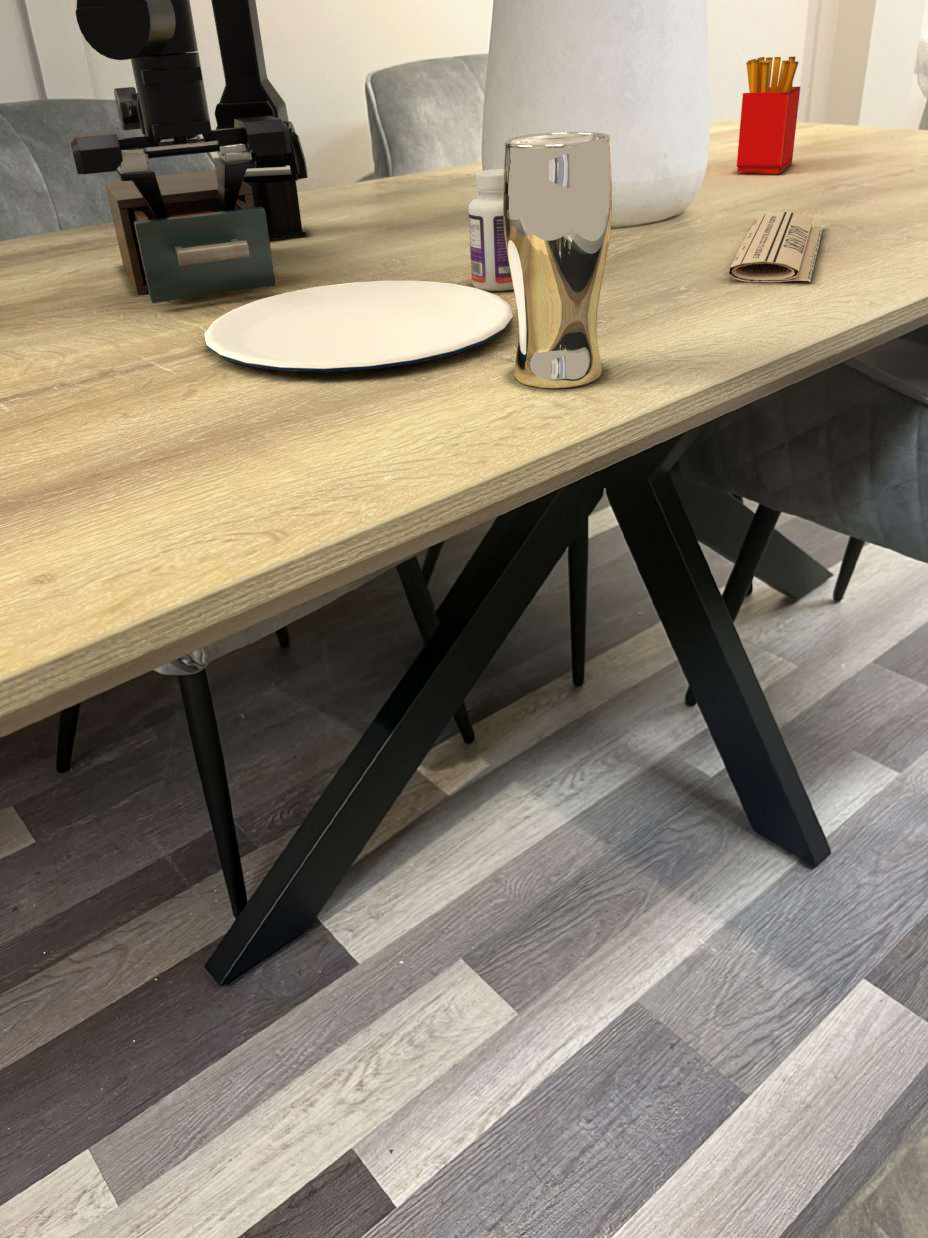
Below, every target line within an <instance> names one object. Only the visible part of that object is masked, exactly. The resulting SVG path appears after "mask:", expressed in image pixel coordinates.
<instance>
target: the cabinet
mask: <svg viewBox="0 0 928 1238" xmlns="http://www.w3.org/2000/svg"><path fill="white" fill-rule="evenodd" d="M156 179H157V182H158V185H159V188H160V192H161V195H162V198H163V202H164V204H171V203H180V202H189V201H197V200H206V199H215V198H218V184H217V183H218V182H217V175H216V170H215V169H210V170H201V171H190V172H181V173H172V174H163V175H161V174H160V175H156ZM104 186H105V191H106V196H107V201H108V204H109V209H110V214H111V218H112V221H113V226H114V231H115V235H116V240H117V245H118V248H119V254H120V257H121V262H122V266H123V269H124V270H125V272H126V275H127V276H128V278H129V280H130V283H131V285H132V286H133V288H134V290H135V293H136V294H137V295H139V296H140V295H145V294H149V290H148V285H147V281H146V276H145V273H144V271H143V269H142V264H141V259H140V255H139V250H138V245H137V241H136V236H135V232H134V227H133V222H132V218H131V213H130V208H136V207H144V206H148V204H147V203H146V201H145V199H144V198H143V196H142V195H141V193H140V192H139V190H138V189H137V187H136V186H135V185H134V183H133V182H132V181H121V180H120V179H115V180H105V181H104ZM238 199H240V200H241V201H242V202H244V203H245V204H247V205H248V206H249V207H251V208H254V202H253V195H252V189H251V185H249V184H247V183H246V182H244V181H243V182H242V185H241V189H240V192H239V195H238Z"/></svg>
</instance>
